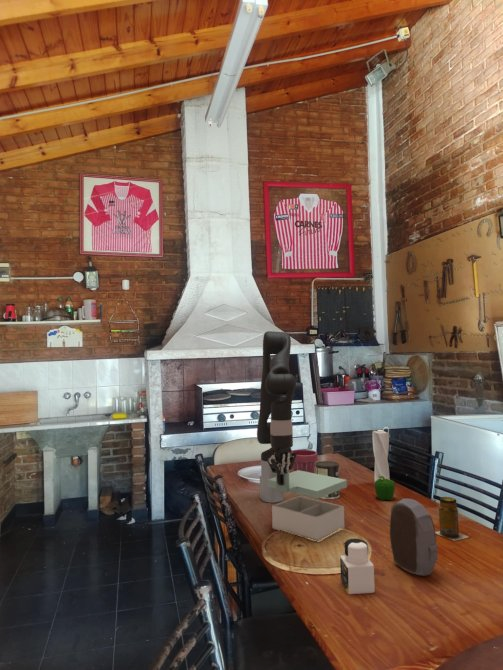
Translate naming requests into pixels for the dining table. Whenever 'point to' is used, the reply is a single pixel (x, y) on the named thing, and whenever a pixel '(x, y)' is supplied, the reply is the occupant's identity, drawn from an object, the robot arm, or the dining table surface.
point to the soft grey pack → (413, 537)
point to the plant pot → (305, 460)
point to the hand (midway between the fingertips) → (282, 484)
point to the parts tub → (307, 517)
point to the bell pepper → (384, 488)
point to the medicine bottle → (357, 568)
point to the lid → (308, 484)
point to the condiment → (449, 519)
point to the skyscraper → (381, 453)
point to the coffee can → (328, 474)
